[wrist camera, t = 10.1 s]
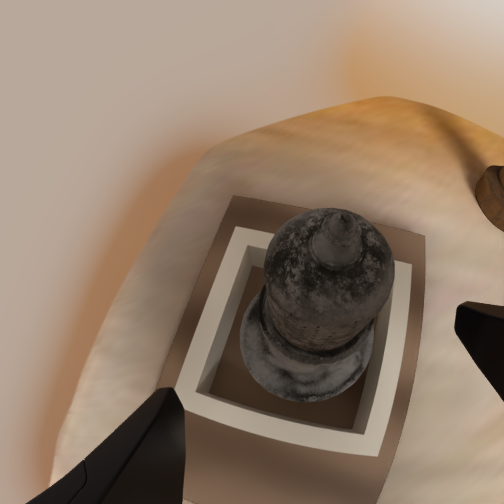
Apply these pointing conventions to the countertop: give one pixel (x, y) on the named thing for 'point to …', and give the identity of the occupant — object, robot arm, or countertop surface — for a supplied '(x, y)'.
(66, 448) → the countertop surface
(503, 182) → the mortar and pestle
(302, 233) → the salt shaker
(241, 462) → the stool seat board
